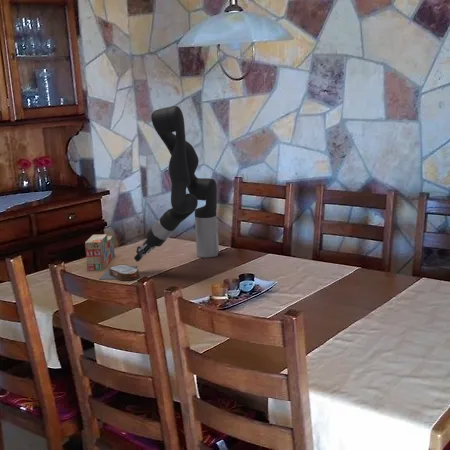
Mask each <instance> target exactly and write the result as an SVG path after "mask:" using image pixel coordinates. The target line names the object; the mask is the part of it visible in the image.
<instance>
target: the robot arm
mask: <svg viewBox="0 0 450 450" xmlns="http://www.w3.org/2000/svg"><path fill="white" fill-rule="evenodd" d="M150 118H151V122H152V126H153V128H154V130H155V132H156V134H157V135H158V137H159V138H160V140H161V141H162V142H163V143H164V145H165V146H166V148H167V150H168V152H169V154H170V158H169V162H168V172H169V177H170V183H171V189H170V191H171V192H170V205H171V208H169V209H168V210H166V211H165V212H164V213H163V214H162V215H161V217H160V218H159V219H157V221H155V222H154V224H153V225H152V226H151V227H150V229H149V230H148V231H147V232H146V233H145V236H146V237H145V238H146V240H143V243H142V244H141V245H139V246H137V247H136V251H135V252H136V255H135V256H133V259H134V260H135V261H136V262H139V261H141V260H142V259H143V257H145V256H146V255H147V254H149V253H150V252H152V251H153V250H154V249H155V248H156V247H161V246H163V244H164V243H165V242H167V240H168V239H169V238H170V236H171V235H173V233H174V231H175V230H176V229H177V228H178V226H179V225H180V224H181V223H182V222H183V221H185V220H186V219H187V218H189V216H191V215H192V214H194V226H195V227H194V229H195V244H196V245H195V246H196V256H197V257H199V258H213V257H218V256H219V254H220V253H219V252H220V246H219V231H218V224H217V223H218V221H217V218H218V217H217V207H218V206H217V202H218V201H217V200H218V197H217V196H218V194H217V193H218V187H217V183H216V180H215V179H214V178H206V177H205V178H203V177H201V178H200V177H197V176H196V174H195V173H196V171H197V169H198V166H199V162H200V161H199V156H198V154H197V152H196V150H195V148H194V146H193V145H192V144H191V143H190V142H188V141H187V140H186V128H185V119H184V115H183V111H182V109H181V108H180V107H179V106H178V105H171V106H167V107H163V108H158V109H155V110H153V111H152V113H151V116H150ZM187 191H188V193H187ZM199 201H205V205H203V206H201V207H198V203H199ZM197 207H198V208H197Z"/></svg>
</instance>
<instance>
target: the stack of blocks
mask: <svg viewBox="0 0 450 450" xmlns="http://www.w3.org/2000/svg"><path fill="white" fill-rule="evenodd" d="M114 243H115V242H114V236H113V235H108V234H104V233H103V234H92V235H91V236H90V237H89V238H88V239H87V240H86V241H85V242H84V248H85V257H86V266H87V268H86V269H87V272H91V271H92V272H93V271H96V272H97V271H103V270H104V269H105V268H106V267H108V264H109V263H110V262H111V261H112V260H113V259H114V257H115V256H116V254H115V244H114Z"/></svg>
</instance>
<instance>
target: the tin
mask: <svg viewBox="0 0 450 450" xmlns="http://www.w3.org/2000/svg"><path fill="white" fill-rule="evenodd" d="M111 266H112V267H111ZM111 266H109V268H108V269H109V272H110V273H109V275H110V276H113V277H115V278H117V279H116V280H119V281H133V280H136V279H138V278H140V270H139V268H137V267H136V268H134V267H132V266H133V265H129V264H117V265H111Z"/></svg>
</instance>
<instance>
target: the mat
mask: <svg viewBox="0 0 450 450" xmlns="http://www.w3.org/2000/svg"><path fill="white" fill-rule="evenodd" d="M112 266H113V265H111V266H110V267H112ZM131 266H132V267H134V268H137V267H138V265H131ZM109 273H110V272H109V268H108V269H107V270H106V271H105V272H104V273H103V274H102V275H101V276H100V277H99V278H98V280H105V281H106V280H118V279H117V278H115V277H113V276H110V275H109Z"/></svg>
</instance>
